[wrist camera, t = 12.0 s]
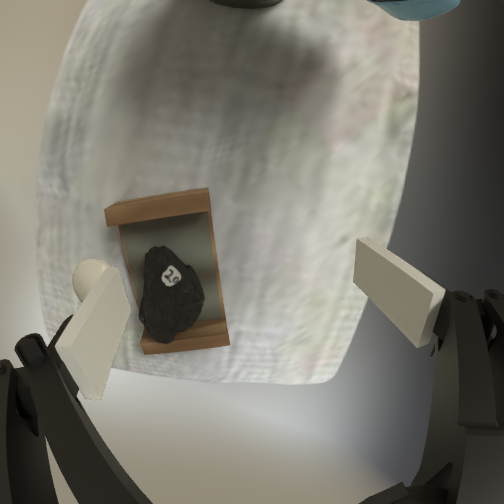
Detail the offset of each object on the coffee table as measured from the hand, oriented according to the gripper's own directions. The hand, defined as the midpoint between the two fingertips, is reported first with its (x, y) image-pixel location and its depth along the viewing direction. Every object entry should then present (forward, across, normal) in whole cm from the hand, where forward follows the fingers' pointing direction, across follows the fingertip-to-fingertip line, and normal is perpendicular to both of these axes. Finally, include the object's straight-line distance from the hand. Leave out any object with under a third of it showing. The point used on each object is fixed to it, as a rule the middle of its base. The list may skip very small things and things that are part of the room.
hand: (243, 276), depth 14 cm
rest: (+21, -7, -8) cm, 24 cm away
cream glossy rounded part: (+21, -19, -9) cm, 30 cm away
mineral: (+20, -8, -10) cm, 24 cm away
